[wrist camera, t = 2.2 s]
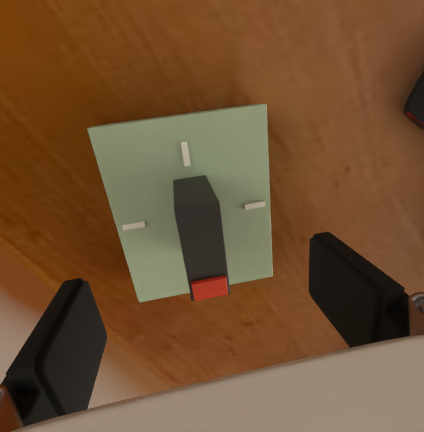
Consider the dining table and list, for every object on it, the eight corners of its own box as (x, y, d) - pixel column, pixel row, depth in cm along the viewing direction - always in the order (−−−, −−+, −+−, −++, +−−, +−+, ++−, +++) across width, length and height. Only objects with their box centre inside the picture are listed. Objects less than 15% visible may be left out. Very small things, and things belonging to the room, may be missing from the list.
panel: (100, 124, 17) (85, 128, 14) (252, 104, 18) (267, 103, 15) (142, 278, 21) (138, 304, 19) (260, 255, 22) (274, 278, 19)
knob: (172, 179, 16) (173, 211, 11) (205, 174, 16) (221, 203, 11) (186, 251, 18) (192, 305, 13) (215, 246, 18) (231, 297, 13)
